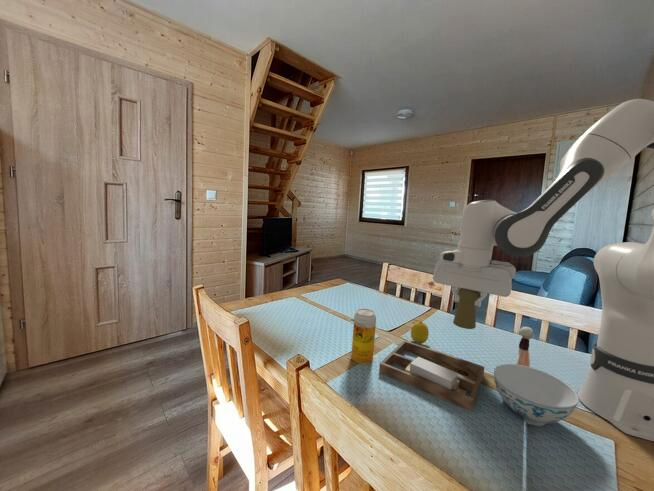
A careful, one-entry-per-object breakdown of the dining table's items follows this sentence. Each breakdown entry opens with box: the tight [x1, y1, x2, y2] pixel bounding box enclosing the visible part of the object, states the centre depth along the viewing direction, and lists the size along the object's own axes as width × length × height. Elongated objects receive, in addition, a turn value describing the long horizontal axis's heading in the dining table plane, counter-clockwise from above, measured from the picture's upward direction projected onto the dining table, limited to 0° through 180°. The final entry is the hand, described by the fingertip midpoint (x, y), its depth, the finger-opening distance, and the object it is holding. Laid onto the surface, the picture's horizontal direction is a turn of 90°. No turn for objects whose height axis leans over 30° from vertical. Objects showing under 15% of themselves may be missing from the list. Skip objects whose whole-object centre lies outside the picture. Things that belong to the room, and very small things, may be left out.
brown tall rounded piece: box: [452, 288, 479, 330], centre depth 83 cm, size 6×6×11 cm
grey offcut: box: [410, 356, 459, 389], centre depth 69 cm, size 10×4×2 cm, turn 47°
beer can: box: [350, 308, 377, 364], centre depth 80 cm, size 6×6×15 cm
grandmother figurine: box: [516, 326, 534, 367], centre depth 81 cm, size 8×4×13 cm, turn 155°
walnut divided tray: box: [378, 339, 486, 412], centre depth 74 cm, size 22×17×4 cm
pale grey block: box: [404, 364, 460, 392], centre depth 70 cm, size 12×4×2 cm, turn 53°
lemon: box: [410, 320, 429, 344], centre depth 93 cm, size 6×6×8 cm
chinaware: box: [493, 363, 580, 427], centre depth 63 cm, size 15×15×8 cm
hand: (467, 303), depth 83 cm, fingers closed on brown tall rounded piece, 4 cm apart
